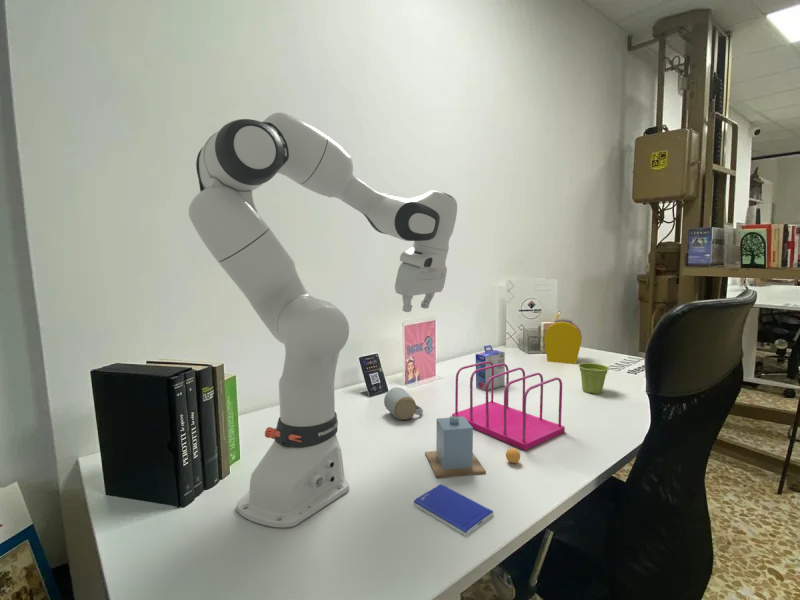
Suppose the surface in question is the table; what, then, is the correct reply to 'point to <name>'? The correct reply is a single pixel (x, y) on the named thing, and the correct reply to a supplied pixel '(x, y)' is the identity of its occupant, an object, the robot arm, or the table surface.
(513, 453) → the ball
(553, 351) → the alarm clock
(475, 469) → the coaster
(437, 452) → the grey block with knob
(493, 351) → the ink cartridge box
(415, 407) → the ceramic mug
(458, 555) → the table surface
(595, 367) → the plant pot
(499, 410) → the file sorter
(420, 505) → the hard drive
